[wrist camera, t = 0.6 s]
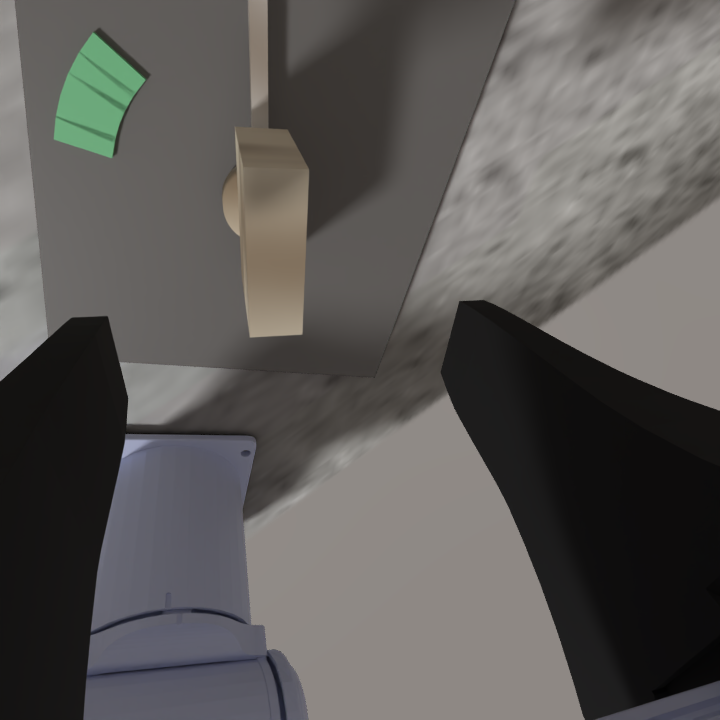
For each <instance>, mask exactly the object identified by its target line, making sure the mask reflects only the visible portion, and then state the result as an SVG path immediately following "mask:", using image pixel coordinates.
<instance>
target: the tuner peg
mask: <svg viewBox="0 0 720 720" xmlns="http://www.w3.org/2000/svg"><path fill="white" fill-rule="evenodd" d="M248 22H249V58H250V95H251V127H235V143H236V165H237V166H236V167H235V168H233V169H232V170H231V172H230V173H229V174H228V176H227V177H226V179H225V181H224V184H223V188H222V202H223V211H224V215H225V218H226V221H227V223H228V224H229V226H230V227H231V229H232V230H233V231H234V232H235V233H236V234H237V235H238V236H240V251H241V272H242V282H243V289H244V297H245V304H246V312H247V320H248V327H249V335H250V337H268V336H286V335H302V332H303V308H304V283H305V259H306V235H307V210H308V186H309V168H308V166H307V164H306V163H305V161H304V159H303V157H302V155H301V153H300V151H299V150H298V148H297V146H296V144H295V142H294V140H293V138H292V137H291V135H290V133H289V131H288V129H269V128H268V3H267V0H248Z"/></svg>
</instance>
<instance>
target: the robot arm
mask: <svg viewBox="0 0 720 720" xmlns="http://www.w3.org/2000/svg"><path fill="white" fill-rule="evenodd" d="M441 374H442V377H443V380H444V383H445V386H446V388H447V391H448V394H449V396H450V398H451V401H452V404H453V406H454V409H455V410H456V412H457V414H458V416H459V418H460V420H461V422H462V423H463V425H464V427H465V429H466V431H467V432H468V434H469V436H470V438H471V440H472V441H473V443H474V445H475V446H476V448H477V450H478V452H479V453H480V455H481V457H482V459H483V461H484V462H485V464H486V466H487V468H488V469H489V471H490V473H491V475H492V476H493V478H494V480H495V481H496V483H497V485H498V487H499V489H500V491H501V493H502V495H503V497H504V499H505V501H506V503H507V505H508V507H509V509H510V511H511V514H512V516H513V518H514V521H515V523H516V525H517V527H518V530H519V532H520V535H521V537H522V539H523V541H524V544H525V546H526V549H527V551H528V554H529V557H530V559H531V561H532V564H533V567H534V569H535V572H536V574H537V577H538V579H539V582H540V584H541V587H542V590H543V593H544V596H545V598H546V601H547V604H548V607H549V610H550V612H551V615H552V618H553V621H554V624H555V626H556V629H557V632H558V635H559V638H560V641H561V644H562V647H563V651H564V654H565V657H566V660H567V663H568V666H569V670H570V673H571V676H572V679H573V682H574V685H575V689H576V693H577V696H578V699H579V703H580V707H581V710H582V714H583V716H584V718H585V720H720V411H718V410H716V409H713V408H710V407H707V406H704V405H702V404H699V403H696V402H693V401H690V400H687V399H684V398H682V397H679V396H677V395H674V394H672V393H669V392H667V391H664V390H662V389H660V388H657V387H655V386H652V385H650V384H648V383H645V382H643V381H641V380H638V379H636V378H634V377H631V376H629V375H627V374H625V373H622V372H620V371H618V370H616V369H614V368H612V367H610V366H608V365H606V364H604V363H602V362H600V361H598V360H596V359H594V358H592V357H590V356H588V355H586V354H584V353H582V352H580V351H579V350H577V349H575V348H573V347H571V346H569V345H567V344H565V343H564V342H562V341H560V340H558V339H557V338H555V337H553V336H551V335H549V334H548V333H546V332H544V331H542V330H540V329H539V328H537V327H535V326H533V325H532V324H530V323H528V322H526V321H524V320H523V319H521V318H519V317H517V316H515V315H513V314H512V313H510V312H508V311H506V310H504V309H502V308H500V307H498V306H496V305H494V304H492V303H489V302H487V301H485V300H477V301H459V305H458V309H457V312H456V316H455V320H454V324H453V328H452V331H451V335H450V339H449V343H448V347H447V350H446V354H445V358H444V362H443V365H442V369H441ZM127 407H128V396H127V392H126V388H125V383H124V379H123V375H122V371H121V367H120V363H119V359H118V355H117V351H116V347H115V343H114V339H113V335H112V331H111V327H110V323H109V318H108V316H95V317H72V318H70V319H69V320H68V321H67V322H66V323H64V324H63V325H62V326H61V327H60V328H59V329H58V330H57V331H55V332H54V333H53V334H52V335H51V336H50V337H49V338H48V339H47V340H46V341H45V342H44V343H43V344H41V345H40V346H39V347H38V348H37V349H36V350H35V351H34V352H33V353H32V354H31V355H29V356H28V357H27V358H26V359H25V360H24V361H23V362H22V363H20V364H19V365H18V366H17V367H16V368H15V369H14V370H13V371H12V372H10V373H9V374H8V375H7V376H6V377H5V378H4V379H3V380H1V381H0V720H308V713H307V706H306V701H305V697H304V693H303V689H302V686H301V683H300V680H299V677H298V675H297V673H296V671H295V670H294V668H293V667H292V666H291V665H290V663H289V662H288V660H287V658H286V657H285V655H284V654H283V653H282V652H281V651H278V650H275V649H272V650H267V649H266V638H265V628H264V626H263V625H251V615H250V603H249V589H248V577H247V562H246V550H245V536H244V523H243V505H244V500H245V496H246V491H247V487H248V482H249V478H250V473H251V469H252V464H253V460H254V455H255V451H256V439H255V438H254V437H252V436H238V435H161V434H126V423H127ZM244 450H248V451H244Z"/></svg>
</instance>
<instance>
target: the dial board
mask: <svg viewBox="0 0 720 720" xmlns="http://www.w3.org/2000/svg"><path fill="white" fill-rule="evenodd" d="M267 3H268V128H269V129H288V131H289V133H290V135H291V137H292V138H293V140H294V142H295V144H296V146H297V148H298V150H299V151H300V153H301V155H302V157H303V159H304V161H305V163H306V164H307V166H308V168H309V186H308V210H307V235H306V259H305V283H304V308H303V332H302V335H286V336H268V337H250V335H249V327H248V320H247V312H246V304H245V297H244V289H243V282H242V272H241V251H240V236H238V235H237V234H236V233H235V232H234V231H233V230H232V229H231V227H230V226H229V224H228V223H227V221H226V218H225V215H224V211H223V202H222V188H223V184H224V181H225V179H226V177H227V176H228V174H229V173H230V172H231V170H232V169H233V168H235V167H236V166H237V165H236V143H235V127H251V95H250V58H249V22H248V0H15V8H16V18H17V28H18V38H19V48H20V58H21V68H22V78H23V88H24V98H25V108H26V118H27V128H28V138H29V148H30V158H31V168H32V178H33V188H34V198H35V208H36V218H37V228H38V238H39V248H40V258H41V268H42V278H43V288H44V298H45V308H46V318H47V328H48V338H49V337H50V336H51V335H52V334H53V333H54V332H55V331H57V330H58V329H59V328H60V327H61V326H62V325H63V324H64V323H66V322H67V321H68V320H69V319H70V318H72V317H95V316H108V318H109V323H110V327H111V331H112V335H113V339H114V343H115V347H116V351H117V355H118V359H119V362H129V363H145V364H162V365H178V366H194V367H211V368H227V369H243V370H260V371H276V372H292V373H308V374H325V375H341V376H357V377H374V378H375V375H376V373H377V370H378V367H379V365H380V362H381V359H382V357H383V354H384V351H385V349H386V346H387V343H388V340H389V338H390V335H391V332H392V330H393V327H394V324H395V322H396V319H397V316H398V314H399V311H400V308H401V306H402V303H403V300H404V298H405V295H406V292H407V290H408V287H409V284H410V282H411V279H412V276H413V273H414V271H415V268H416V265H417V263H418V260H419V257H420V255H421V252H422V249H423V247H424V244H425V241H426V239H427V236H428V233H429V231H430V228H431V225H432V223H433V220H434V217H435V215H436V212H437V209H438V206H439V204H440V201H441V198H442V196H443V193H444V190H445V188H446V185H447V182H448V180H449V177H450V174H451V172H452V169H453V166H454V164H455V161H456V158H457V156H458V153H459V150H460V148H461V145H462V142H463V139H464V137H465V134H466V131H467V129H468V126H469V123H470V121H471V118H472V115H473V113H474V110H475V107H476V105H477V102H478V99H479V97H480V94H481V91H482V89H483V86H484V83H485V81H486V78H487V75H488V72H489V70H490V67H491V64H492V62H493V59H494V56H495V54H496V51H497V48H498V46H499V43H500V40H501V38H502V35H503V32H504V30H505V27H506V24H507V22H508V19H509V16H510V14H511V11H512V8H513V5H514V3H515V0H267Z"/></svg>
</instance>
